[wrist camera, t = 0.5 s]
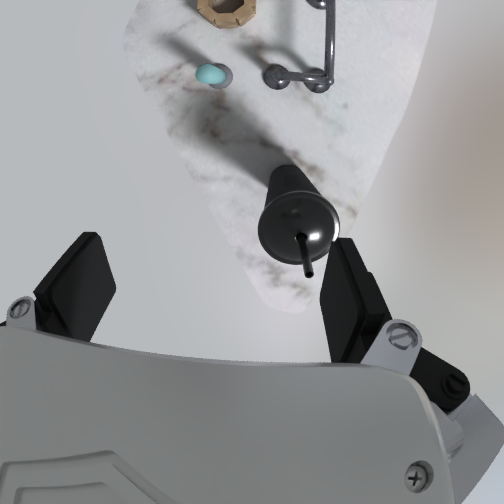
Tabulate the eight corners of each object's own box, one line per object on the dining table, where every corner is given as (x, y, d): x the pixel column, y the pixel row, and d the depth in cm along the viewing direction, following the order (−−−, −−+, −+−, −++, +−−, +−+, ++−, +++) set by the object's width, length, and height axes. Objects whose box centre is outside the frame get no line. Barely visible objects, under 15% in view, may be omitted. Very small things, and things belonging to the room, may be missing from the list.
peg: (206, 65, 28) (189, 59, 21) (232, 64, 28) (223, 57, 21) (207, 89, 30) (189, 90, 22) (232, 88, 30) (223, 88, 22)
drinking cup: (247, 185, 37) (235, 280, 21) (284, 143, 34) (307, 206, 17) (290, 217, 40) (308, 323, 23) (326, 178, 36) (378, 267, 20)
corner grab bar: (266, -16, 21) (267, -34, 16) (332, -8, 21) (345, -24, 16) (263, 88, 30) (264, 88, 24) (329, 94, 30) (343, 96, 24)
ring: (204, -11, 22) (198, -20, 19) (256, -13, 22) (255, -23, 19) (202, 29, 25) (196, 23, 22) (255, 27, 25) (254, 21, 22)
